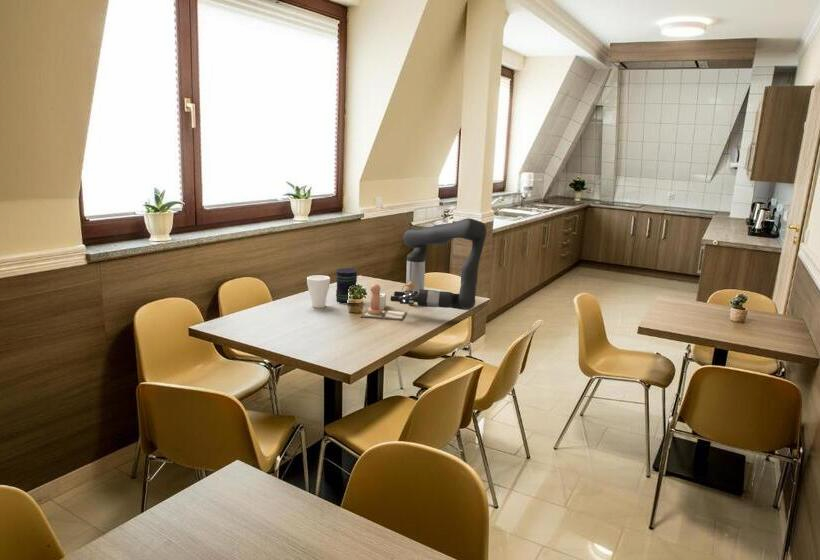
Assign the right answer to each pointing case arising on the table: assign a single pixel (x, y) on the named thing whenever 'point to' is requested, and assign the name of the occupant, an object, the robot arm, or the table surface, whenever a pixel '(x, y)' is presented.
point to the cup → (318, 289)
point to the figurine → (410, 287)
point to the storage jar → (344, 283)
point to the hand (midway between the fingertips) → (392, 296)
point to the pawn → (375, 300)
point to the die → (382, 300)
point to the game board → (386, 315)
